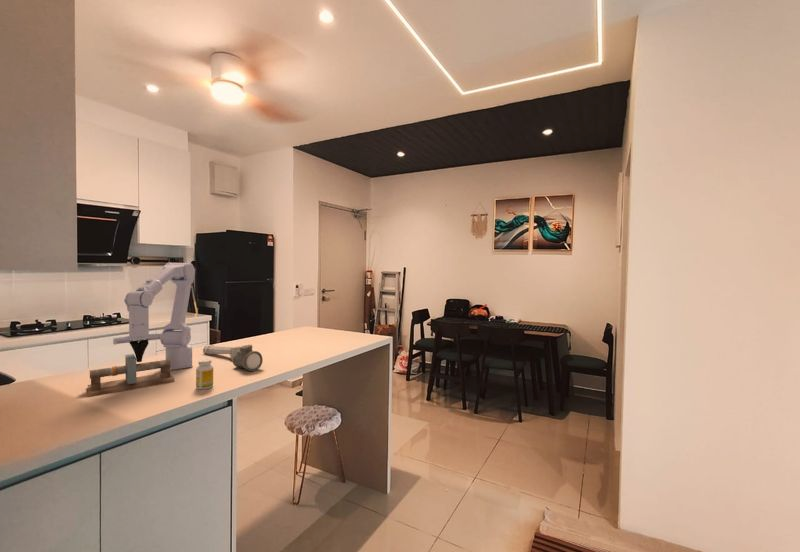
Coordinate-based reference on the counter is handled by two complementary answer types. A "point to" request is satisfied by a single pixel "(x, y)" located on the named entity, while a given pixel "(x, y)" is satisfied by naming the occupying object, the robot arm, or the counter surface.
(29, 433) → the counter surface
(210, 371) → the supplement bottle
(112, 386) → the pipe stand
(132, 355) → the collar
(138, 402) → the counter surface
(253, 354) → the pipe fitting
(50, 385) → the counter surface
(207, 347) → the grey handle
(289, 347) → the counter surface
